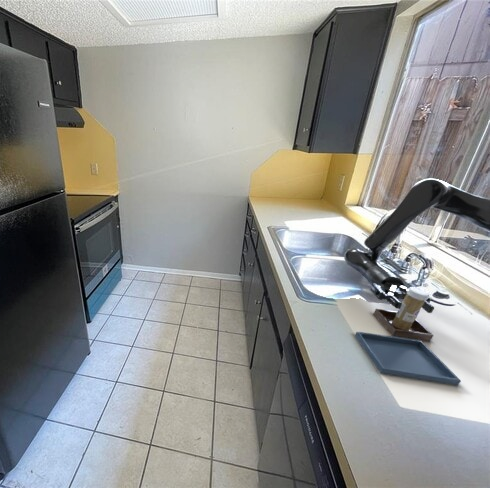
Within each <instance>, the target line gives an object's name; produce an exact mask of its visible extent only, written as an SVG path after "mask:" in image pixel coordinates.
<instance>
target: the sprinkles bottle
mask: <svg viewBox="0 0 490 488" xmlns="http://www.w3.org/2000/svg"><path fill="white" fill-rule="evenodd" d="M428 297H430V293H429V292H428V291H426V290H425V289H422V288H420V287H416V286H410V287H409V288H408V291H407V295H406V297H405V298H404V299H402V302H401V303H402V305H401V307H400V309H397V313H396V316H395V318H394V320H393V321H392V324H393V325H394V326H395V327H397V328H399V329H401V330H407V331H408V330H410V327H411V325H412V324H413V322H414V321H415V319H417V317H418V315H419V313H420V311H421V309H422V306H423V304H424V302H425V301H426V300H427V299H428Z"/></svg>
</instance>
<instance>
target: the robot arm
mask: <svg viewBox="0 0 490 488" xmlns="http://www.w3.org/2000/svg"><path fill="white" fill-rule="evenodd" d="M430 208H432V209H436V210H439V211H442V212H445V213H449V214H451V215H455V216H457V217H459V218H460V219H462V220H464V221H466V222H467V223H469V224H471V225H473V226H475V227H477V228H479V229H481V230H483V231H485V232H488V233H490V198H488V197H483V196H479V195H475V194H473V193H470V192H467V191H464V190H462V189H460V188H458V187H455V186H453V185H451V184H449V183H447V182H445V181H443V180H439V179H438V178H437V179H436V178H425V179H422V180H420V181H417V182H416V183H415V184H413V186H411V188H410V190H409V191H408V193H407V194H406V195H405V196H404V198H403V199H402V201H401V202H400V203H399V204H398V206H397V207H396V208H395V210H394V211H392V213H391V214H389V216H388V217H387V218H386V219H384V220H383V222H382V223H381V224H380V225H378V227H376V228H375V230H373V231H372V232H371V234H369V235H368V236H367V237H366V238H365V240H364V241H363V244H364V246H365V247H366V248H368V251H364V250H362V249H359V248H355V247H353V248H349V249H347V250H346V251H345V252H344V255H343V258H344V261H345V263H346V264H347V265H348V266H350V267H351V268H353V269H354V270H356V271H357V272H359V273H360V274H361V275H362V276H363V277H364V278H365V279H366V281H367V282H368V283H369V284H370V285H371V288H370V292H372V294H373V295H374V296H375V297H376V298H377V299H378V300H381V301H383V300H385V302H387V303H389V304H390V305H391V306H392V307H394V308H395V309H397V310H398V309H400V307H401V305H402V302H401V301H400V300H404V298H405V297H406V295H407V291H408V289H409V288H408V287H406V286H405V284H404V280H403V279H401V278H400V277H399V276H397V275H396V274H395V273H394V272H392V271H391V270H390V269H388V268H387V267H385V266H384V265H382V264H381V263H380V262H379V261H378V260H379V259H380V257H381V255H382V253H384V250H385V249H387V248H388V247H389V246H390V245H391V244H393V243H394V241H396V240H397V238H398V237H399V236H401V234H402V233H403V232H404V231H405V229H406V228H407V227H408V226H409V225H410V224H411V223H412V222H413V221H414V220H415V219H416V218H417V217H418V216H420V215H421V214H422V213H424V212H425V211H427V210H428V209H430ZM432 300H433V298H432V297H430V296H429V297H428V299H427V300H426V301H425V302H424V304H423V306H422V307H421V309H422V310H424V311H425V312H426V313H427V314H432V313H433V311H434V310H435V306H434V305H432V304H431V303H430V302H431V301H432Z"/></svg>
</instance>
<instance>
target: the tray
mask: <svg viewBox="0 0 490 488" xmlns="http://www.w3.org/2000/svg"><path fill="white" fill-rule="evenodd" d="M354 337H355V339H356V340H357V341H358V343H359V344H360V345H361V348H362V349H363V351H365V353H366V354H367V356H368V357H369V359H370V360H371V362H372V363H373V365H374V366H375V367H376V369H377V370H378V372H379V373H380V374H383V375H390V376H396V377H400V378H406V379H407V378H408V379H414V380H419V381H426V382H431V383H437V384H444V385H451V386H459V385H460V383H461V382H462V380H461V379H460V378H459V377H458V376H457V375H456V374H455V373H454V372H453V371H452V370H451V369H450V368H449V367H448V366H447V365H446V364H445V363H444V362H443V361H442V360H441V359H440V358H439V357H438V356H437V355H436V353H434V352H433V351H432V349H430V348H429V347H428V346H427V344H426V343H424V341H422V340H415V339H408V338H401V337H394V336H392V335H384V334H377V333H371V332H364V331H363V332H362V331H356V332H355V334H354Z"/></svg>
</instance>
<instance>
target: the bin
mask: <svg viewBox="0 0 490 488" xmlns="http://www.w3.org/2000/svg"><path fill="white" fill-rule="evenodd" d="M397 311H398V310H397ZM397 311H396V310H390V309H389V310H388V309H381V308H375V309H374V311H373V314H372V315H373V316H374V317H375V319H377V321H378V322H379V323H380V324H381V325H382V327H384V329H385V330H386V331H387V333H388V334H389V335H390V336H392V337H399V338H406V339H413V340H420V341H422V342H430V343H431V341H432V340H433V337H434V334H433V332H431V331H430V330H429V329H428V328H426V326H424V324H422V323H421V322H420V321H419V320H418V319H417V318H416V319H415V321H414V322H413V324H412V325H411V327H410V330H408V331H407V330H401V329H399V328H397V327H395V326H394V325H393V324H392V321H393V320H394V318H395V316H396V313H397Z"/></svg>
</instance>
